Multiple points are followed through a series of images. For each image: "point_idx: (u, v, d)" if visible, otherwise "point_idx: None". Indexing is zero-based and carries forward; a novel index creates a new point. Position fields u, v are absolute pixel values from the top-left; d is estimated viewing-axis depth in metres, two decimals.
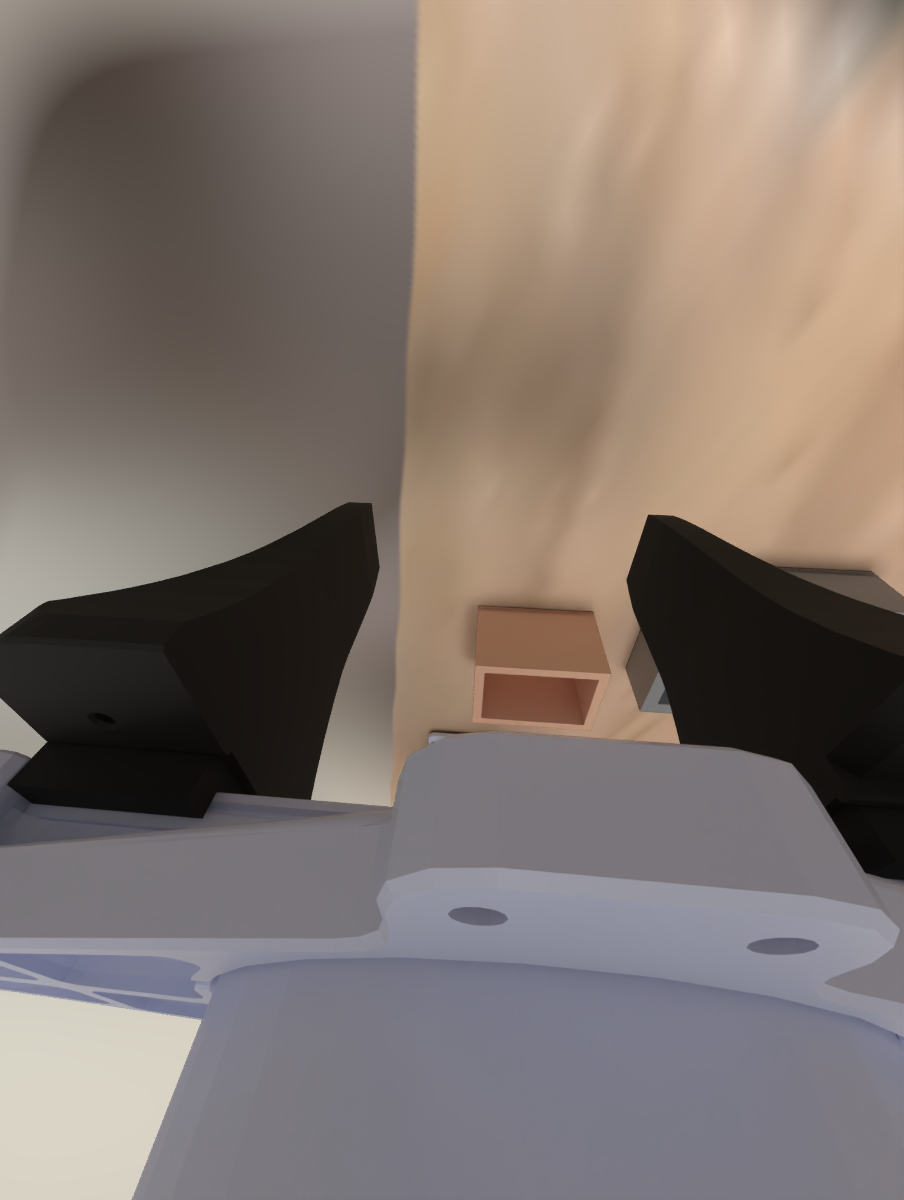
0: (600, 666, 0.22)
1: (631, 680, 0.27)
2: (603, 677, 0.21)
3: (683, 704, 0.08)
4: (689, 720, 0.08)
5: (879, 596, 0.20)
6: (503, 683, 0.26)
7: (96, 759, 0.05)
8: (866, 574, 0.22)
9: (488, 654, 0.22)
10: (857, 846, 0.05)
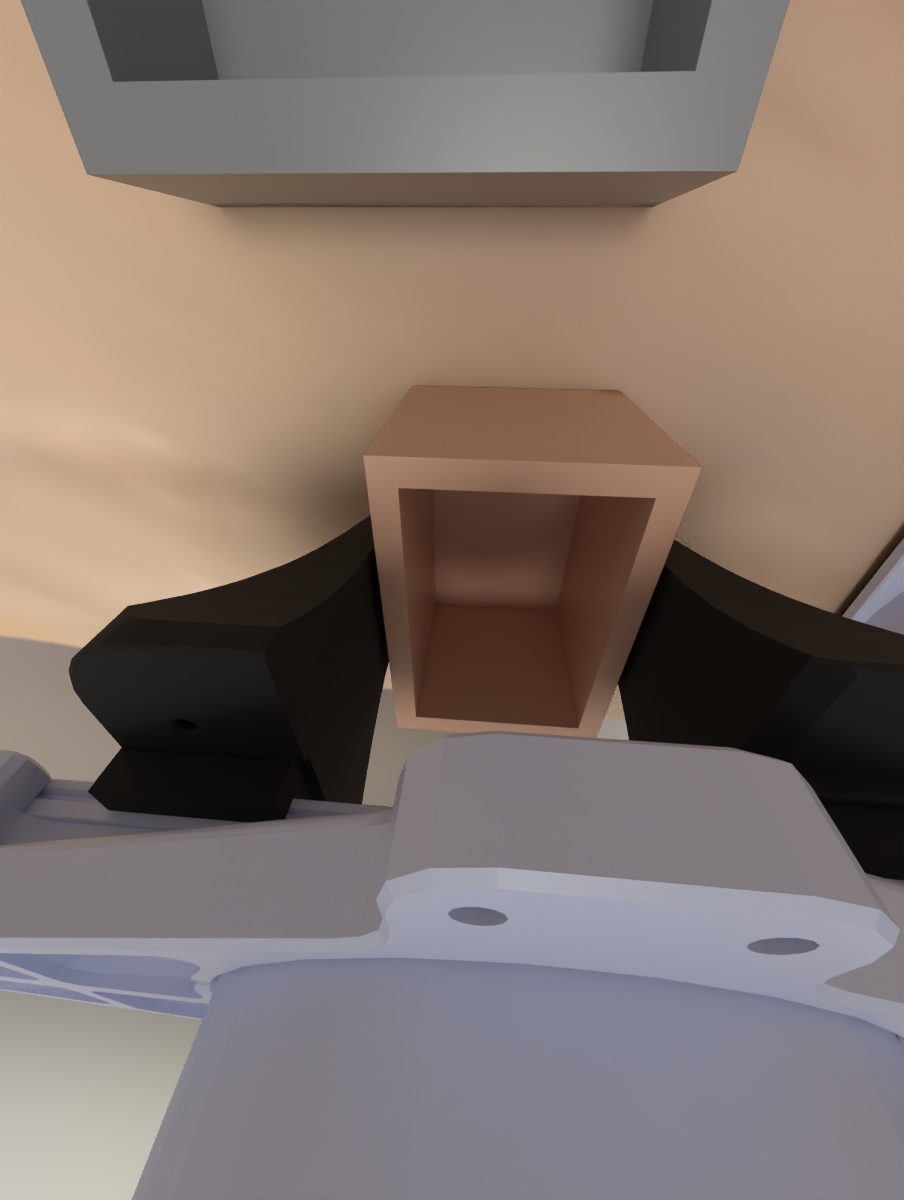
0: None
1: (659, 197, 0.07)
2: (384, 477, 0.06)
3: (632, 701, 0.09)
4: (636, 716, 0.08)
5: None
6: (571, 612, 0.11)
7: (174, 765, 0.05)
8: None
9: None
10: None
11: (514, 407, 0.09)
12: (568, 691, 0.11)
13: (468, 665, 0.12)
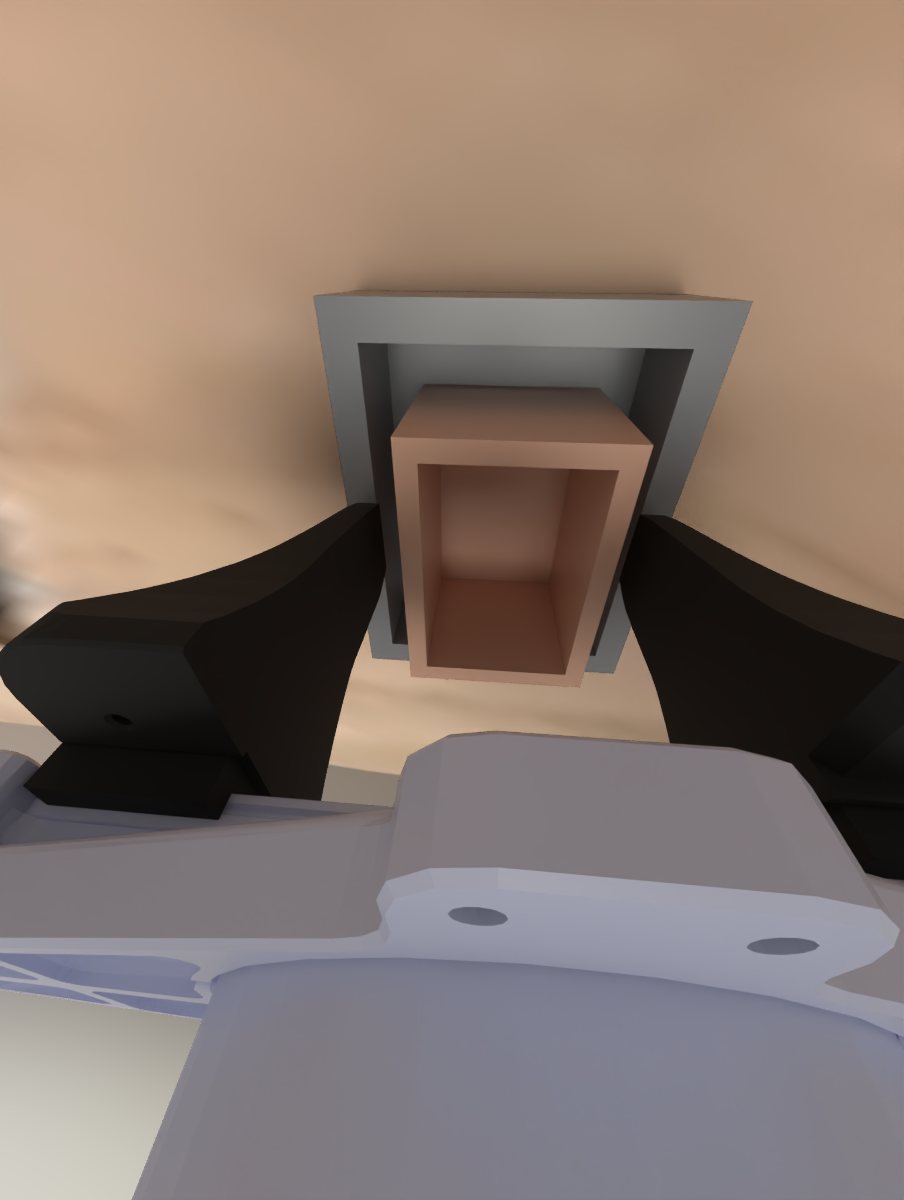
0: None
1: None
2: (406, 454, 0.08)
3: (673, 703, 0.08)
4: (679, 719, 0.08)
5: None
6: (560, 580, 0.13)
7: (111, 760, 0.05)
8: None
9: None
10: None
11: (509, 401, 0.10)
12: (557, 646, 0.13)
13: (471, 626, 0.13)
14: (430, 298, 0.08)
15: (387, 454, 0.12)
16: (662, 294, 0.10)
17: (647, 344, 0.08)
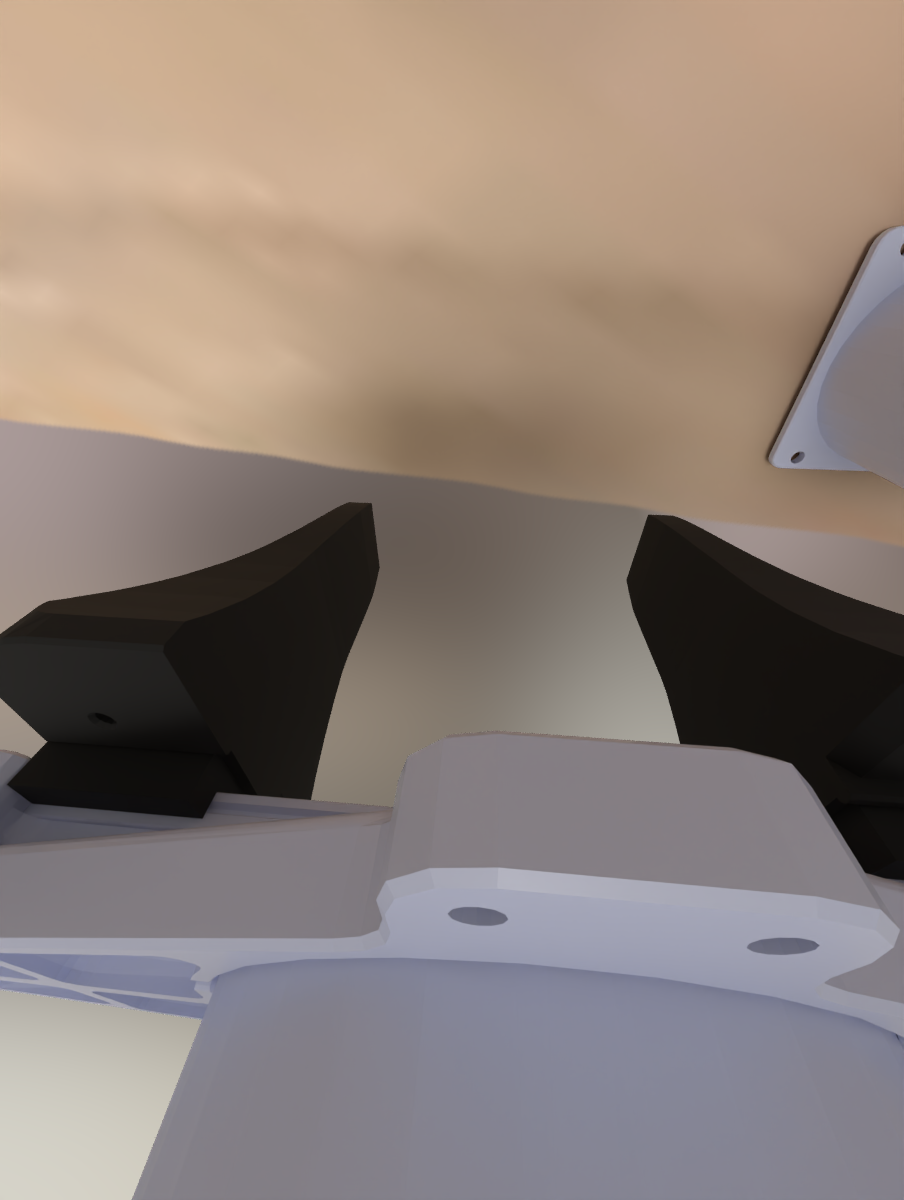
0: None
1: None
2: None
3: (683, 704, 0.08)
4: (689, 720, 0.08)
5: None
6: None
7: (96, 759, 0.05)
8: None
9: None
10: (858, 846, 0.05)
11: None
12: None
13: None
14: None
15: None
16: None
17: None
